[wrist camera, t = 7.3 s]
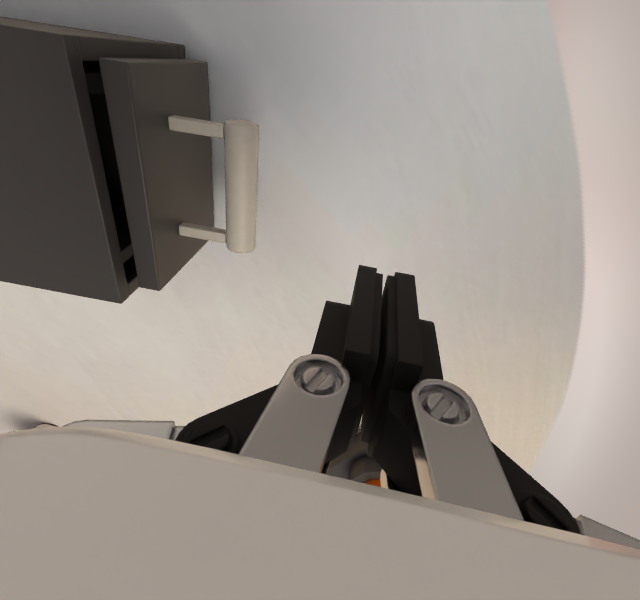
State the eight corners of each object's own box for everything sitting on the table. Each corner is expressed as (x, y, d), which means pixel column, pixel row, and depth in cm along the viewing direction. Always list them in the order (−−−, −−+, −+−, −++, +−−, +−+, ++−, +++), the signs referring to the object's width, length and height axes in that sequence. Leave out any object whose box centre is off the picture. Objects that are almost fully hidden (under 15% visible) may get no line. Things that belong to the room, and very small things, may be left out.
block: (390, 414, 35) (391, 451, 32) (445, 454, 37) (451, 493, 34) (323, 454, 40) (318, 489, 37) (375, 487, 42) (374, 524, 39)
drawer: (284, 74, 20) (238, 79, 14) (273, 245, 26) (238, 306, 19) (-21, 26, 21) (-202, 9, 14) (35, 202, 27) (-75, 247, 20)
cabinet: (184, 45, 21) (62, 34, 13) (197, 233, 27) (121, 304, 19) (-56, 7, 21) (-317, -26, 13) (12, 200, 28) (-136, 255, 20)
